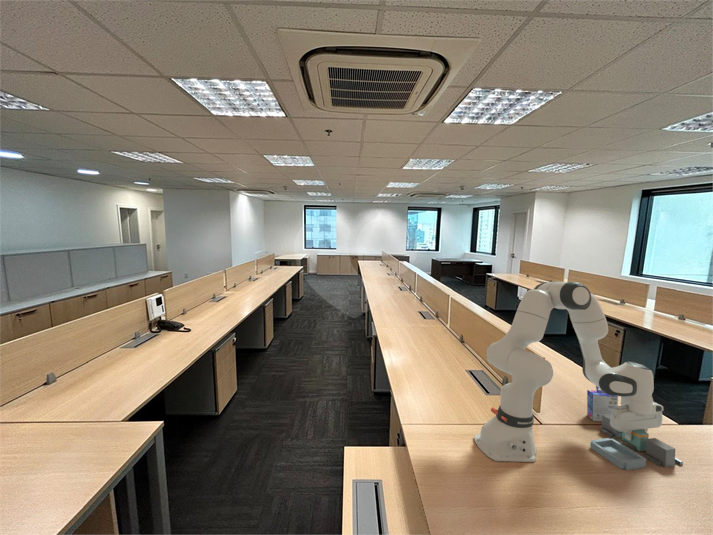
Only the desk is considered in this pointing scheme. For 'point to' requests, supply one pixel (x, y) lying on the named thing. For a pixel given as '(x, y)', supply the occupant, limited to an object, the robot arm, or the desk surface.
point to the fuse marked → (637, 439)
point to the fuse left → (607, 426)
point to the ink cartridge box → (600, 404)
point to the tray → (618, 454)
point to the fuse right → (661, 452)
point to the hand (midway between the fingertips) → (634, 438)
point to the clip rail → (635, 449)
